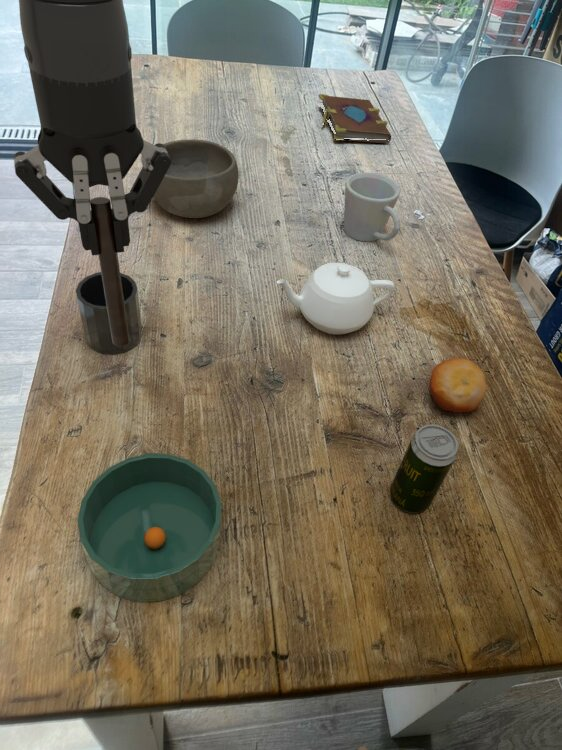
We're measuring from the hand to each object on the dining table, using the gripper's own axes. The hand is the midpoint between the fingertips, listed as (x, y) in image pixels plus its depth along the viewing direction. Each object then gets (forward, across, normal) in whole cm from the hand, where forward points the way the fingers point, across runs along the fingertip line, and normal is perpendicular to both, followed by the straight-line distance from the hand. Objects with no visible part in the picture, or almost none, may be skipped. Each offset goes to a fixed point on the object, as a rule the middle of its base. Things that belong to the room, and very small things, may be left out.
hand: (106, 248), depth 57 cm
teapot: (+29, -35, -15) cm, 48 cm away
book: (+29, -69, -85) cm, 113 cm away
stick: (+11, 0, +2) cm, 11 cm away
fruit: (+29, -46, +6) cm, 55 cm away
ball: (+27, 0, +17) cm, 32 cm away
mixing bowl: (+29, 0, +16) cm, 33 cm away
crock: (+29, 0, -19) cm, 35 cm away
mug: (+29, -52, -36) cm, 69 cm away
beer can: (+29, -32, +20) cm, 47 cm away
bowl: (+29, -21, -53) cm, 64 cm away
